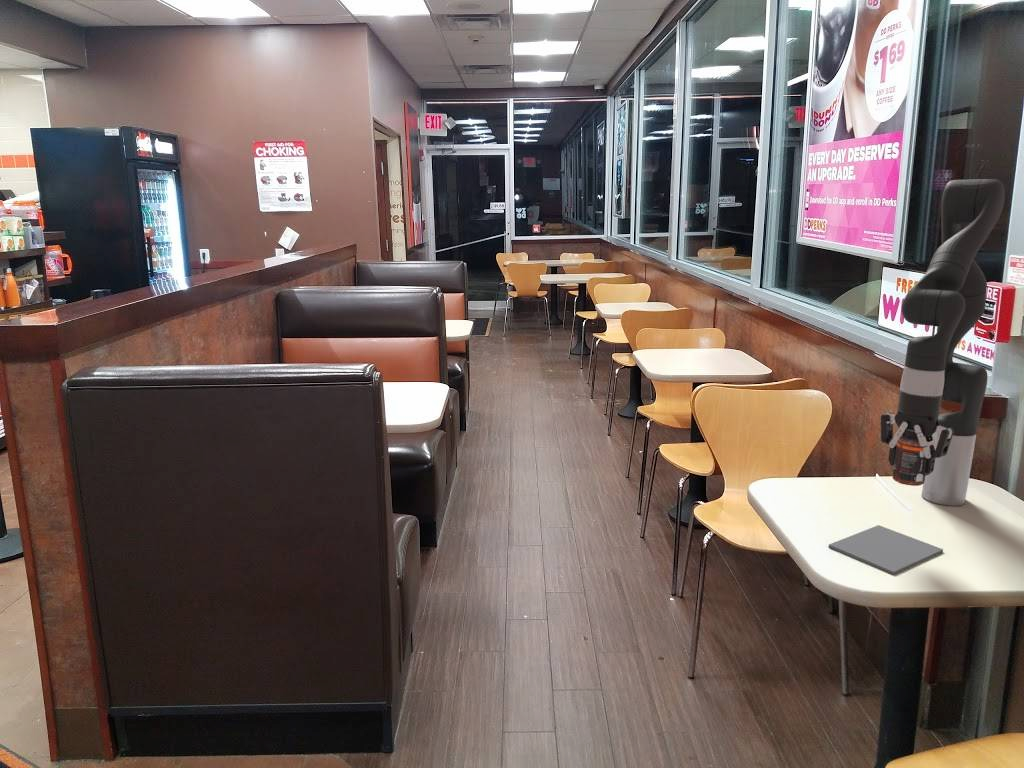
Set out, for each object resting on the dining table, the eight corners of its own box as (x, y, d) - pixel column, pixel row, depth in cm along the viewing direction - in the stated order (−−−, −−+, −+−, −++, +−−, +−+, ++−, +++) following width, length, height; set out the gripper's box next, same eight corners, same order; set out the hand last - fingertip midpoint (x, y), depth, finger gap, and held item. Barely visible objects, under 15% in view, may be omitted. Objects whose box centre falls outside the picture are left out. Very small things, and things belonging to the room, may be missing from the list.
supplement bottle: (928, 488, 153) (936, 434, 150) (896, 485, 154) (904, 432, 151) (919, 477, 158) (927, 425, 156) (888, 475, 159) (895, 423, 157)
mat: (878, 527, 167) (878, 525, 167) (942, 552, 156) (943, 549, 156) (828, 547, 157) (828, 544, 157) (893, 574, 146) (893, 571, 146)
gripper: (968, 395, 148) (955, 477, 152) (896, 380, 159) (886, 456, 163) (948, 400, 144) (935, 484, 148) (876, 384, 155) (866, 462, 159)
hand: (909, 469), depth 155 cm, fingers closed on supplement bottle, 6 cm apart
